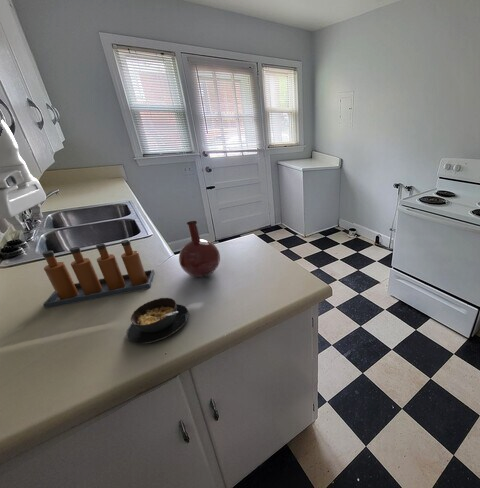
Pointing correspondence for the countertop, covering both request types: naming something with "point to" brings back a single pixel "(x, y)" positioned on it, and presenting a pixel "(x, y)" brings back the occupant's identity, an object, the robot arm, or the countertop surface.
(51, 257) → the loose bottle
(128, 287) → the tray
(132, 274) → the bottle
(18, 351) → the countertop surface
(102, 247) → the bottle
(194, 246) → the round-bottom flask
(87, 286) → the bottle
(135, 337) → the soup bowl
